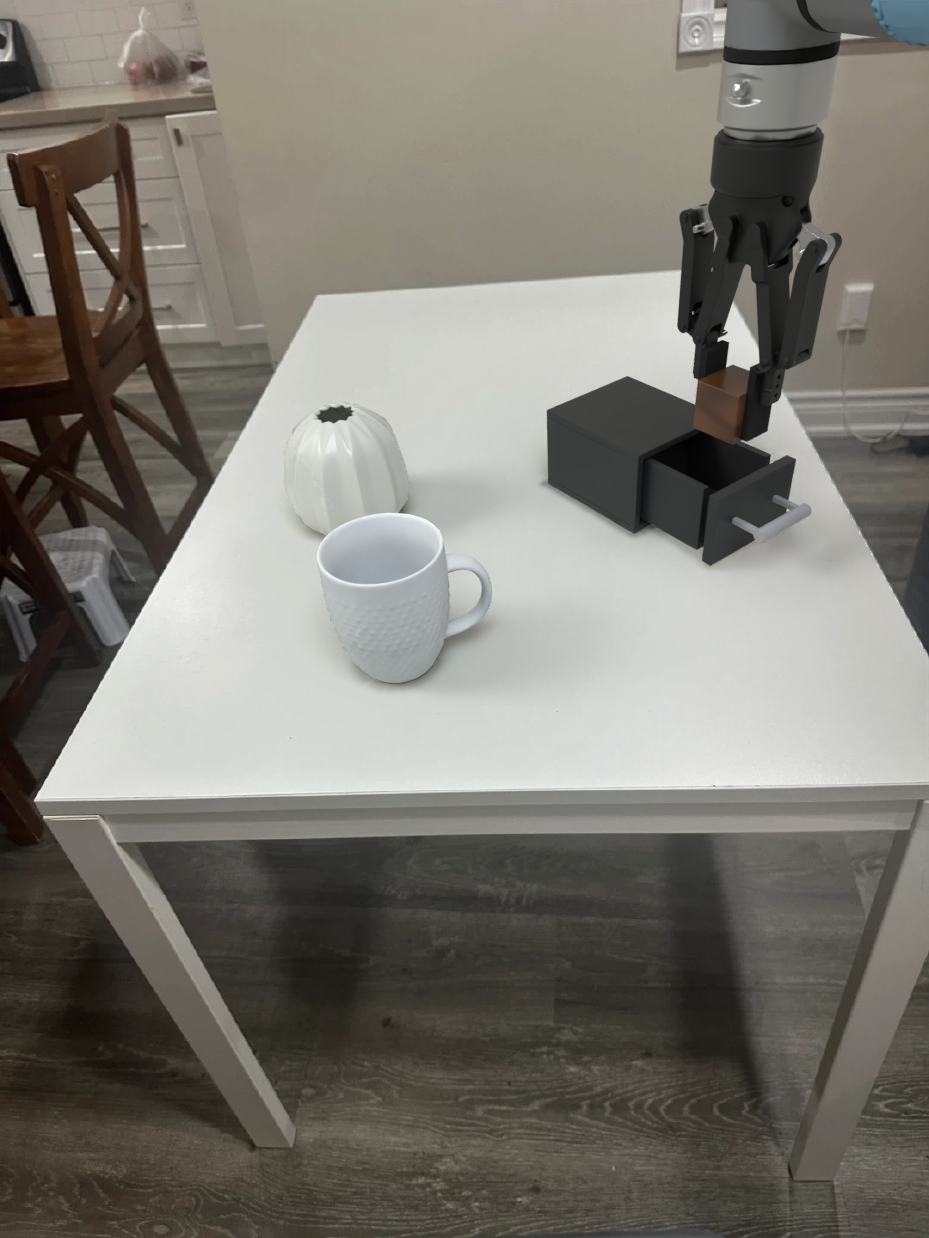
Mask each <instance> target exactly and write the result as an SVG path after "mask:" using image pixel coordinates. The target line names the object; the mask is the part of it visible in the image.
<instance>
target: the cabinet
mask: <svg viewBox="0 0 929 1238" xmlns="http://www.w3.org/2000/svg"><path fill="white" fill-rule="evenodd" d="M694 411H695V403H693V402H690V401H688V400H686V399H684V398H681V397H678V396H676V395H674V394H671V393H669V392H667V391H664V390H662V389H659V388H657V387H655V386H652V385H650V384H648V383H646V382H643V381H641V380H638V379H636V378H634V377H631V376H628V375H627V376H624V377H622V378H619V379H616V380H615V381H612V382H610V383H607V384H605V385H602V386H600V387H598V388H595V389H593V390H591V391H588V392H586V393H583V394H581V395H579V396H577V397H574V398H572V399H570V400H567V401H565V402H561V403H560V404H558V405H555V406H553V407H550V408H548V409H546V445H547V446H546V448H547V484H548V485H550V486H552V487H554V488H556V489H557V490H559V491H560V492H562V493H564V494H565V495H568V496H570V498H572V499H574V500H576V501H578V502H579V503H581V504H582V505H584V506H586V507H588V508H589V509H591V510H592V511H594V512H596V513H598V514H600V515H601V516H603V517H605V518H607V519H608V520H610V521H612V522H613V523H615V524H617V525H619V526H620V527H622V528H623V529H626V530H627V531H629V532H631V533H632V534H637V533H638V532H640V531H642V530H644V529H646V528H647V527H649V526H652V524H650V523H648V522H646V521H645V520H643V519H641V518H640V507H641V490H642V473H643V460H644V459H646V458H648V457H650V456H652V455H655V454H657V453H659V452H661V451H663V450H665V449H667V448H669V447H671V446H673V445H675V444H677V443H679V442H682V441H684V440H686V439H688V438H690V437H692V436H694V435H696V434H698V433H700V432H702V431H700V430H698V429H696V428H693V423H694Z"/></svg>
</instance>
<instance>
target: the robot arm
mask: <svg viewBox="0 0 929 1238" xmlns="http://www.w3.org/2000/svg"><path fill="white" fill-rule="evenodd" d="M842 34H844V35H845V34H847V35H854V36H862V37H869V38H870V37H871V38H877V39H885V40H892V41H900V42H906V44H907V45H909V46H914V47H921V48H925V47H927V46H929V0H727V3H726V13H725V25H724V36H723V50H722V51H723V52H722V60H721V70H720V79H719V91H718V98H717V99H718V100H717V102H718V103H717V109H716V110H717V111H716V122H717V123H718V124H719V125H720V126H721V127H722V128H721V129H720V130H719V131H718V132H717V133H716V135H715V136H714V138H713V147H712V155H711V156H712V157H711V167H710V178H709V183H710V185H711V187H712V188H713V189H714V190H713V194H712V195H711V197H710V199H709V201H708V203H702V204H699V205H696V206H692V207H690V208H687V209H684V210H682V211H681V212H680V214H679V217H678V218H679V219H678V220H679V225H680V231H681V236H682V237H681V238H682V241H683V242H682V254H681V255H682V256H681V267H680V268H681V269H680V283H679V297H678V309H677V323H676V326H677V330H678V331H679V333H681V334H686V333H687V334H688V335H689V336H690V337H691V338H692V342H693V343H694V356H693V366H692V367H693V368H692V375H693V379H696V380H697V383H698V380H700V379H702V378H704V377H706V376H709V375H711V374H713V373H715V372H717V371H720V370H722V369H724V368H726V367H727V363H728V356H729V348H730V342H729V341H726V340H724V339H721V340H719V339H720V338H722V337H724V336H727V335H728V333H729V331H727V330H726V329H725V328H726V324H727V321H728V318H729V315H730V312H731V309H732V306H733V302H734V299H735V296H736V293H737V290H738V286H739V284H740V281H741V278H742V275H743V271H744V269H745V267H746V265H748V267H750V277H751V278H750V279H751V281H752V282H753V283H754V285H755V297H756V318H757V319H756V320H757V340H758V343H757V345H758V363H756V364H754V365H752V366H750V367H749V378H748V385H747V392H746V394H747V395H746V402H745V409H744V416H743V423H742V430H741V437H740V439H741V441H742V442H745V443H747V442H750V441H751V440H754V439H755V438H758V437H759V436H761V435H763V434H765V433H767V432H768V431H769V425H770V418H771V412H772V406H773V404H775V403H778V402H779V400H780V399H781V397H782V392H783V385H784V380H785V375H786V370H790V369H792V368H794V367H797V366H798V365H800V364H803V363H805V362H807V361H809V360H810V359H811V358H812V356H813V350H814V346H815V341H816V336H817V330H818V325H819V321H820V314H821V311H822V307H823V301H824V295H825V291H826V286H827V281H828V276H829V271H830V266H831V264H832V263H833V261H834V259H835V258H836V256H837V253H838V252H839V250H840V248H841V247H842V244H843V238H842V235H841V234H840V233H839V232H837V231H836V232H831V233H828V234H827V233H825V232H824V231H823V230H821V229H820V228H818V227H817V226H816V225H815V224H814V223H812V222H813V216H812V211H811V205H810V198H811V194H812V191H813V189H814V187H815V185H816V182H817V180H818V174H819V168H820V162H821V157H822V152H823V145H824V141H825V134H824V132H823V130H822V129H821V127H819V125H821V124H822V123H823V122H825V120H827V119H828V117H829V114H830V113H829V112H830V107H831V100H832V95H833V88H834V82H835V76H836V70H837V69H836V68H837V64H838V57H839V50H840V46H841V41H842V38H841V37H842ZM715 234H716V236H715ZM715 237H717V238H716V239H717V240H716V239H715ZM715 240H716V243H715ZM798 243H799V249H798V251H797V252H796V253H795V258H796V259H797V260H799V261H798V262H797V265H796V268H795V270H794V274H793V280H792V285H791V290H790V275H791V273H792V272H793V269H794V247H795V246H796V245H797V244H798ZM790 291H791V292H790ZM696 393H697V391H696ZM695 403H696V401H695V402H694V404H695ZM694 413H695V411H694Z"/></svg>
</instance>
